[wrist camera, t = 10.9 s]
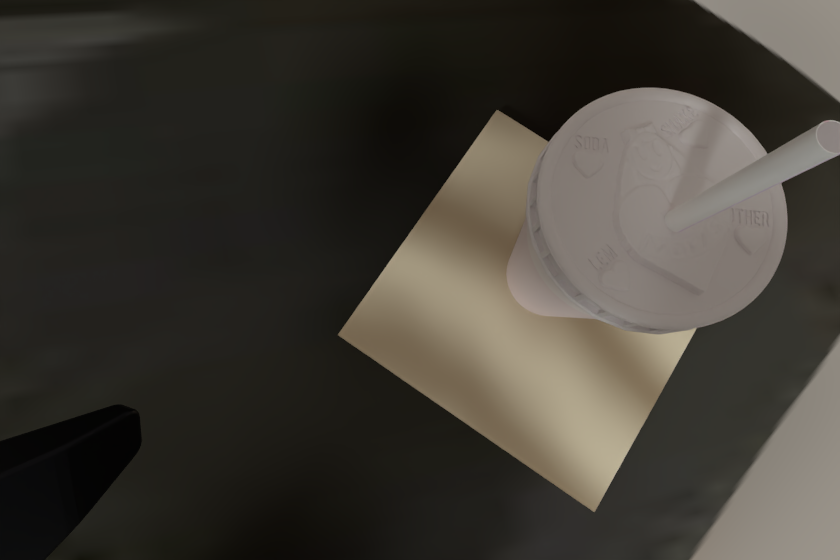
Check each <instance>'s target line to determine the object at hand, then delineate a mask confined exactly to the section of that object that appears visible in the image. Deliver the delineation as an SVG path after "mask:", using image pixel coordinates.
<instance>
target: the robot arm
mask: <svg viewBox="0 0 840 560" xmlns="http://www.w3.org/2000/svg"><path fill="white" fill-rule="evenodd" d="M141 442H142V438H141V426H140V416H139V413H138V411H137V410H135V409H132V408H130V407H127V406H124V405H113V406H109V407H106V408H103V409H100V410H97V411H94V412H91V413H87V414H84V415H81V416H78V417H75V418H72V419H69V420H65V421H62V422H59V423H56V424H53V425H50V426H46V427H43V428H40V429H37V430H34V431H31V432H28V433H24V434H21V435H18V436H15V437H12V438H9V439H6V440H2V441H0V560H45V559H46V558H47V557H48V556H49V555H50V554H51V553H52V552H53V550H54V549H55V548H56V547H57V546H58V545H59V544H60V543H61V542H62V541H63V540H64V539H65V538H66V537H67V536H68V535H69V534H70V533H71V532H72V531H73V530H74V528H75V527H76V526H77V525H78V524H79V523H80V522H81V521H82V520H83V518H84V517H85V516H86V515H87V514H88V513H89V511H90V510H91V509H92V508H93V506H94V505H95V504H96V503H97V502H98V500H99V499H100V498H101V497H102V495H103V494H104V493H105V492H106V491H107V489H108V488H109V487H110V486H111V484H112V483H113V482H114V481H115V480H116V478H117V477H118V476H119V475H120V473H121V472H122V471H123V470H124V468H125V467H126V466H127V465H128V464H129V462H130V461H131V460H132V459H133V457H134V456H135V455H136V454H137V452H138V450H139V448H140V446H141Z"/></svg>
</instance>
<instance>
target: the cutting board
mask: <svg viewBox="0 0 840 560" xmlns="http://www.w3.org/2000/svg"><path fill="white" fill-rule="evenodd" d="M548 143H549V142H548V141H546V140H545V139H543V138H542V137H540V136H538V135H537V134H535V133H534V132H532V131H530V130H529V129H527V128H526V127H524V126H522V125H521V124H519V123H518V122H516V121H514V120H513V119H511V118H510V117H508V116H507V115H505V114H503V113H502V112H500V111H499V110H496V112H495V113H494V114H493V116H492V117H491V119H490V120H489V122H488V123H487V124H486V126H485V127H484V129H483V130H482V131H481V133H480V134H479V136H478V137H477V139H476V140H475V141H474V143H473V144H472V146H471V147H470V148H469V150H468V151H467V153H466V154H465V156H464V157H463V158H462V160H461V161H460V163H459V164H458V165H457V167H456V168H455V170H454V171H453V173H452V174H451V175H450V177H449V178H448V180H447V181H446V182H445V184H444V185H443V187H442V188H441V190H440V191H439V192H438V194H437V195H436V197H435V198H434V199H433V201H432V202H431V204H430V205H429V207H428V208H427V209H426V211H425V212H424V214H423V215H422V216H421V218H420V219H419V221H418V222H417V224H416V225H415V226H414V228H413V229H412V231H411V232H410V233H409V235H408V236H407V238H406V239H405V241H404V242H403V243H402V245H401V246H400V248H399V249H398V250H397V252H396V253H395V255H394V256H393V258H392V259H391V260H390V262H389V263H388V265H387V266H386V267H385V269H384V270H383V272H382V273H381V274H380V276H379V277H378V279H377V280H376V282H375V283H374V284H373V286H372V287H371V289H370V290H369V291H368V293H367V294H366V296H365V297H364V299H363V300H362V301H361V303H360V304H359V306H358V307H357V308H356V310H355V311H354V313H353V314H352V316H351V317H350V318H349V320H348V321H347V323H346V324H345V325H344V327H343V328H342V330H341V331H340V333H339V334H338V335H339V336H340V337H342V338H343V339H344V340H346V341H347V342H349V343H350V344H352V345H353V346H355V347H356V348H358V349H359V350H360V351H362V352H363V353H365V354H366V355H368V356H369V357H371V358H372V359H373V360H375V361H376V362H378V363H379V364H381V365H382V366H384V367H385V368H386V369H388V370H389V371H391V372H392V373H394V374H395V375H397V376H398V377H399V378H401V379H402V380H404V381H405V382H407V383H408V384H410V385H411V386H413V387H414V388H415V389H417V390H418V391H420V392H421V393H423V394H424V395H426V396H427V397H428V398H430V399H431V400H433V401H434V402H436V403H437V404H439V405H440V406H441V407H443V408H444V409H446V410H447V411H449V412H450V413H452V414H453V415H454V416H456V417H457V418H459V419H460V420H462V421H463V422H465V423H466V424H468V425H469V426H470V427H472V428H473V429H475V430H476V431H478V432H479V433H481V434H482V435H483V436H485V437H486V438H488V439H489V440H491V441H492V442H494V443H495V444H496V445H498V446H499V447H501V448H502V449H504V450H505V451H507V452H508V453H509V454H511V455H512V456H514V457H515V458H517V459H518V460H520V461H521V462H522V463H524V464H525V465H527V466H528V467H530V468H531V469H533V470H534V471H536V472H537V473H538V474H540V475H541V476H543V477H544V478H546V479H547V480H549V481H550V482H551V483H553V484H554V485H556V486H557V487H559V488H560V489H562V490H563V491H564V492H566V493H567V494H569V495H570V496H572V497H573V498H575V499H576V500H577V501H579V502H580V503H582V504H583V505H585V506H586V507H588V508H589V509H591V510H592V511H593V512H595V510H596V508H597V507H598V505H599V503H600V501H601V499H602V498H603V496H604V494H605V492H606V490H607V489H608V487H609V485H610V483H611V481H612V480H613V478H614V476H615V474H616V472H617V471H618V469H619V467H620V465H621V463H622V462H623V460H624V458H625V456H626V454H627V453H628V451H629V449H630V447H631V445H632V444H633V442H634V440H635V438H636V436H637V435H638V433H639V431H640V429H641V427H642V426H643V424H644V422H645V420H646V418H647V417H648V415H649V413H650V411H651V409H652V408H653V406H654V404H655V402H656V400H657V399H658V397H659V395H660V393H661V391H662V390H663V388H664V386H665V384H666V382H667V381H668V379H669V377H670V375H671V373H672V372H673V370H674V368H675V366H676V364H677V363H678V361H679V359H680V357H681V355H682V354H683V352H684V350H685V348H686V346H687V345H688V343H689V341H690V339H691V337H692V336H693V334H694V332H695V330H696V328H693V329H691V330H686V331H679V332H673V333H666V334H659V335H658V334H650V333H641V332H633V331H625V330H623V329H620V328H618V327H615V326H613V325H610V324H607V323H605V322H602V321H600V320H597V319H586V318H570V317H554V316H542V315H538V314H535V313H532V312H530V311H528V310H527V309H525V308H524V307H522V306H521V305H520V304H519V303H518V302H517V301H516V300H515V298H514V297H513V295H512V294H511V291H510V289H509V287H508V283H507V276H506V272H507V265H508V261H509V259H510V256H511V254H512V251H513V249H514V246H515V244H516V241H517V238H518V236H519V233H520V231H521V228H522V226H523V223H524V221H525V218H526V202H527V189H528V182H529V180H530V177H531V174H532V172H533V169H534V166H535V164H536V161H537V158H538V156H539V155H540V153H541V152H542V151H543V149H544V148H545V147H546V145H547V144H548Z"/></svg>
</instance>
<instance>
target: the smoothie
mask: <svg viewBox="0 0 840 560" xmlns="http://www.w3.org/2000/svg"><path fill="white" fill-rule="evenodd" d="M838 155H840V122H837V121H834V120H828V121H824V122H822V123H820V124H819V125H817V126H815V127H813V128H812V129H810V130H808V131H807V132H805V133H803V134H801V135H800V136H798V137H796V138H794V139H793V140H791V141H789V142H788V143H786V144H784V145H782V146H781V147H779V148H777V149H776V150H774V151H772V152H770V153H769V154H767V152H766V151H765V149H764V148H763V147H762V145H761V144H760V143H759V141H758V140H757V139H756V138H755V137H754V136H753V134H752V133H751V132H750V131H749V130H748V129H747V128H746V127H745V126H744V125H743V124H742V123H740V122H739V121H738V120H737V119H736V118H734V117H733V116H732V115H730V114H729V113H727V112H726V111H724V110H723V109H721V108H720V107H718V106H716V105H714V104H713V103H711V102H709V101H706V100H704V99H702V98H700V97H697V96H694V95H691V94H688V93H685V92H681V91H677V90H671V89H665V88H635V89H628V90H623V91H618V92H615V93H612V94H608V95H606V96H603V97H601V98H599V99H597V100H595V101H593V102H591V103H589V104H587V105H586V106H585V107H583V108H582V109H580V110H579V111H577V112H576V113H575V114H574V115H573V116H572V117H570V118H569V119H568V120H567V122H566V123H565V124H564V125H563V126H562V127H561V128H560V130H559V131H558V132H556V133H555V135H554V136H553V137H552V139H551V140H550V141H549V143H548V144H547V145H546V147H545V148H544V149H543V151H542V152H541V153H540V155H539V156H538V158H537V161H536V164H535V166H534V169H533V172H532V174H531V177H530V180H529V182H528V189H527V202H526V218H525V221H524V223H523V226H522V228H521V231H520V233H519V236H518V238H517V241H516V244H515V246H514V249H513V251H512V254H511V256H510V259H509V261H508V265H507V272H506V276H507V283H508V287H509V289H510V291H511V294H512V295H513V297H514V298H515V300H516V301H517V302H518V303H519V304H520V305H521V306H522V307H524V308H525V309H527V310H528V311H530V312H532V313H535V314H538V315H542V316H554V317H570V318H586V319H597V320H600V321H602V322H605V323H607V324H610V325H613V326H615V327H618V328H620V329H623V330H625V331H633V332H641V333H650V334H658V335H659V334H666V333H673V332H679V331H686V330H691V329H693V328H699V327H703V326H707V325H711V324H714V323H716V322H719V321H722V320H724V319H726V318H728V317H730V316H732V315H734V314H736V313H737V312H739V311H740V310H742V309H743V308H745V307H746V306H747V305H748V304H750V303H751V302H752V301H753V300H754V299H755V298H756V297H757V296H758V295H759V294H760V293H761V292H762V291H763V289H764V288H765V287H766V286H767V284H768V283H769V281H770V280H771V278H772V277H773V275H774V273H775V271H776V269H777V267H778V265H779V263H780V260H781V257H782V254H783V251H784V246H785V242H786V235H787V206H786V200H785V195H784V191H783V188H782V184H781V183H782V182H784V181H786V180H788V179H790V178H792V177H794V176H796V175H798V174H800V173H802V172H804V171H807V170H809V169H811V168H813V167H815V166H817V165H819V164H821V163H823V162H825V161H827V160H829V159H831V158H833V157H836V156H838Z"/></svg>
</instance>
